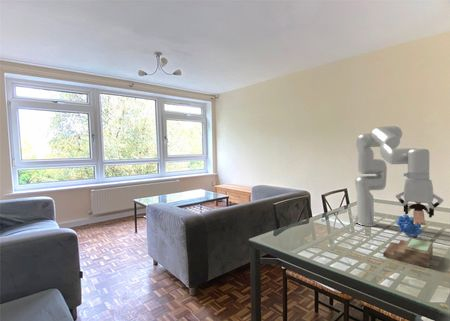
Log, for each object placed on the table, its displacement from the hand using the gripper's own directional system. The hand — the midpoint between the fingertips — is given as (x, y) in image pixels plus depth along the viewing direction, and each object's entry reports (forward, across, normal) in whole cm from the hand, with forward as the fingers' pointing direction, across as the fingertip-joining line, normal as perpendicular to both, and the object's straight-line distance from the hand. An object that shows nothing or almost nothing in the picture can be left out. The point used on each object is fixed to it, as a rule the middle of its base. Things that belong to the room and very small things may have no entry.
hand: (418, 215), depth 107 cm
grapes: (+20, -8, +28) cm, 35 cm away
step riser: (+20, -4, 0) cm, 20 cm away
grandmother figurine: (+4, 0, 0) cm, 4 cm away
